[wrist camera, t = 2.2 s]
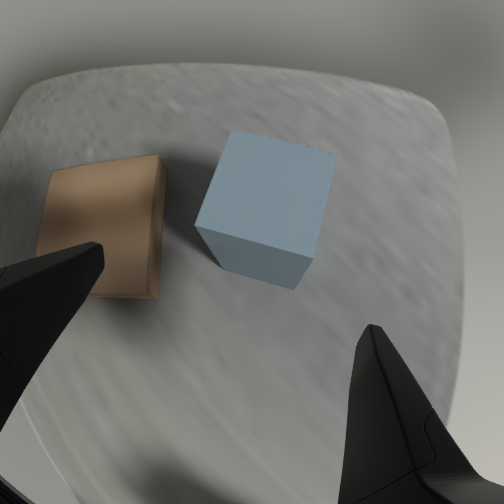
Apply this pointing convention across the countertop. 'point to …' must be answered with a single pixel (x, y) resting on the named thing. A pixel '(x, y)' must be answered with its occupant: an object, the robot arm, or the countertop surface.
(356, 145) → the countertop surface
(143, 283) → the walnut block
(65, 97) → the countertop surface
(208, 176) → the countertop surface
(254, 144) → the slate block
